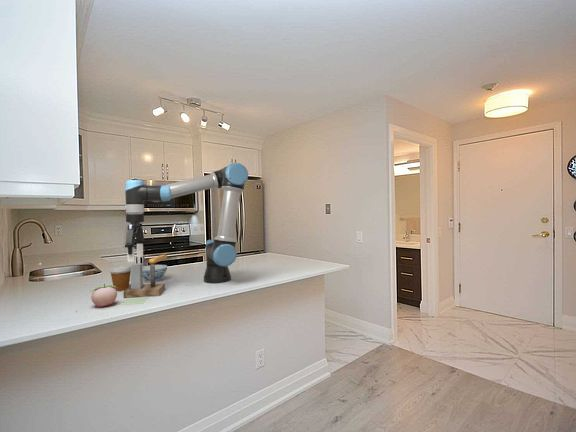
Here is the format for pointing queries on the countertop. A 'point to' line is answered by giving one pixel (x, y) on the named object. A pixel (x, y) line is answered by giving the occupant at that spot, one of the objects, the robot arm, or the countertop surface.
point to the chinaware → (159, 272)
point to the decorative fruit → (104, 295)
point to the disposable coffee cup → (120, 277)
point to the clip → (157, 258)
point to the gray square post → (136, 276)
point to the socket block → (146, 287)
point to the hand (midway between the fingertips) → (135, 259)
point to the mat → (134, 301)
